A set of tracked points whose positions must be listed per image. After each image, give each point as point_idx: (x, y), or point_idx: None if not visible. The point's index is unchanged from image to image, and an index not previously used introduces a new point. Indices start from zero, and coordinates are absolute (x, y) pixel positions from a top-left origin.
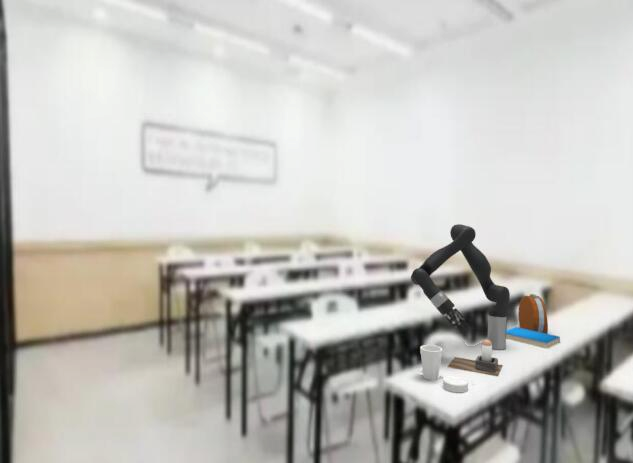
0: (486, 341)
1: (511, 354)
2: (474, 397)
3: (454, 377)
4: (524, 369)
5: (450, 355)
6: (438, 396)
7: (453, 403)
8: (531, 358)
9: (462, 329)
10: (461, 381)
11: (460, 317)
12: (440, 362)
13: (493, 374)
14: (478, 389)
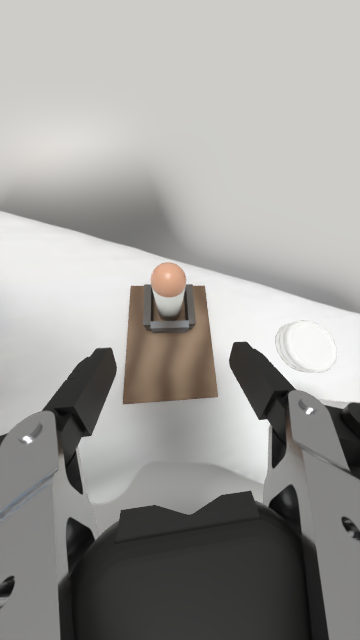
0: (180, 272)
1: (22, 284)
2: (308, 308)
3: (300, 351)
4: (122, 255)
5: None
6: (356, 362)
7: (356, 331)
8: (40, 248)
9: (265, 360)
10: (308, 332)
11: (63, 495)
12: (322, 400)
13: (199, 294)
14: (273, 309)
